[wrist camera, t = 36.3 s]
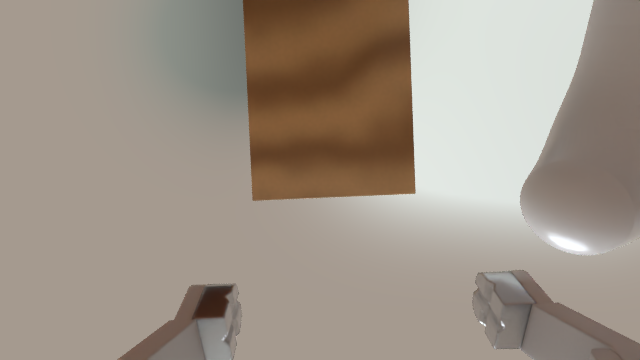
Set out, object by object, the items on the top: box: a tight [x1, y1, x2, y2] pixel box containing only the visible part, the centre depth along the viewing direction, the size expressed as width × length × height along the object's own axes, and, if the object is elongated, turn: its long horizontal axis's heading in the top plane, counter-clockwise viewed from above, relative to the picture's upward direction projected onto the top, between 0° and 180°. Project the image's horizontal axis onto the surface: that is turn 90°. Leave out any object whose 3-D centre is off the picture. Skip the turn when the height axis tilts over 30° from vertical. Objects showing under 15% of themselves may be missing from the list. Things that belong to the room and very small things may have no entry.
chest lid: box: [243, 0, 415, 201], centre depth 31 cm, size 21×13×5 cm
